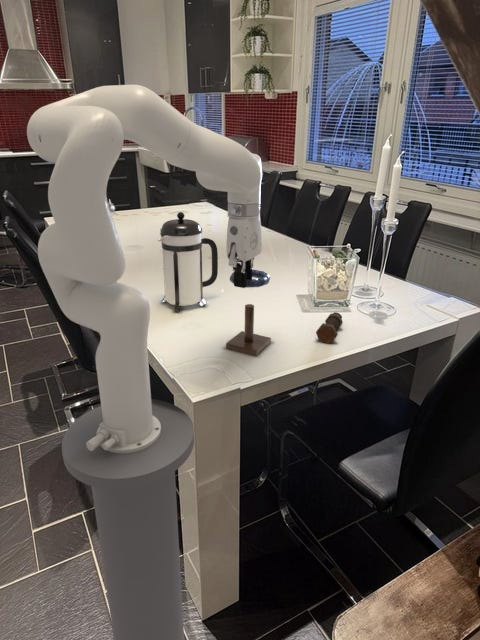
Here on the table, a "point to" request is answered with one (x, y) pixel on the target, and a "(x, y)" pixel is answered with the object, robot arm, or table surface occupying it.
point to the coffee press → (185, 262)
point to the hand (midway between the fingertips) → (243, 284)
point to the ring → (259, 282)
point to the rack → (248, 336)
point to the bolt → (329, 328)
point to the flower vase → (111, 207)
